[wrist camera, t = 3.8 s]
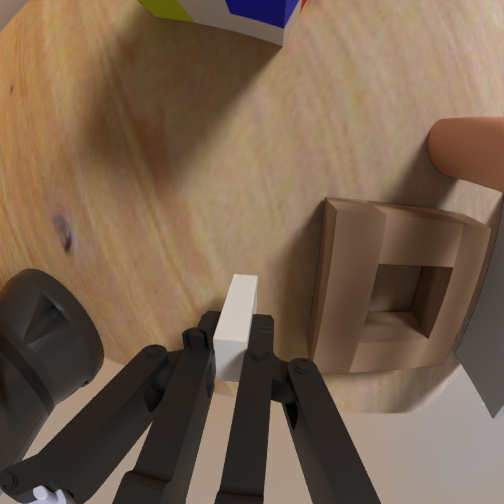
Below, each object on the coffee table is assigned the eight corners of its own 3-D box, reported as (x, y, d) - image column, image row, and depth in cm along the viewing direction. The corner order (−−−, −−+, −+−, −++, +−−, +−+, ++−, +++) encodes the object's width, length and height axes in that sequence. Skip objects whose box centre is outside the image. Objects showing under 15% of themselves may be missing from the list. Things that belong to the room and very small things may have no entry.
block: (306, 340, 23) (310, 373, 19) (324, 197, 18) (337, 210, 15) (426, 336, 22) (442, 363, 18) (462, 213, 18) (491, 228, 14)
